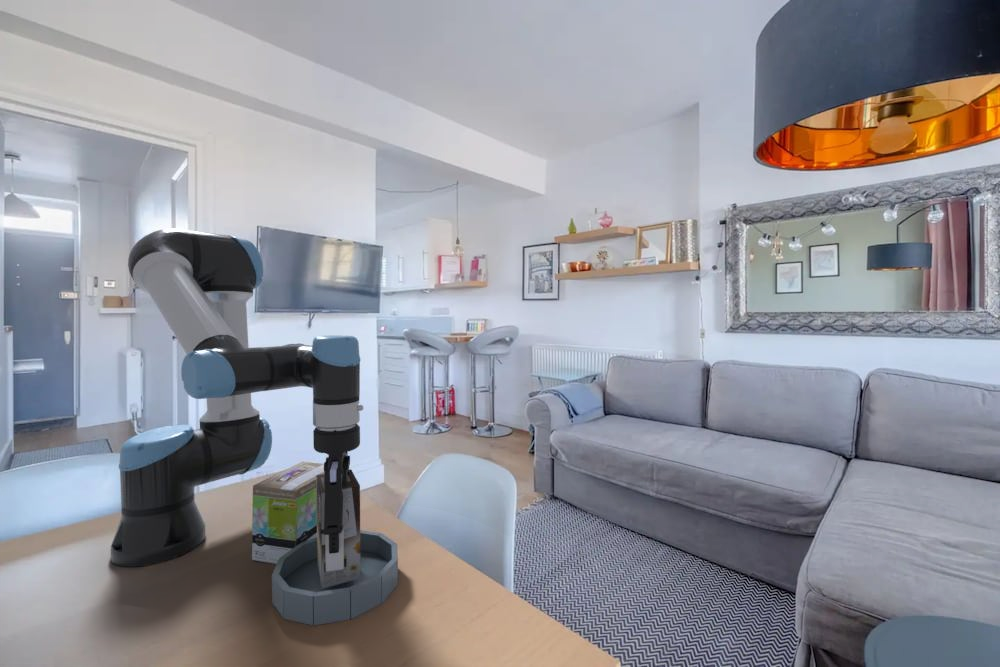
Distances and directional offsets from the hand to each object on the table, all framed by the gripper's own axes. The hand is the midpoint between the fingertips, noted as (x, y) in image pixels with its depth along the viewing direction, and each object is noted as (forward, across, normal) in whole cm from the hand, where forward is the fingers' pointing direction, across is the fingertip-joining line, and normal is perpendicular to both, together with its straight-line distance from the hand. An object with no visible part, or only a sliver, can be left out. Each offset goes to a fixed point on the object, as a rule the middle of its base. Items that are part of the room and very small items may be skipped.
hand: (338, 552), depth 77 cm
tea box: (+6, +16, +9) cm, 19 cm away
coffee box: (+3, 0, 0) cm, 3 cm away
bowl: (+6, 0, 0) cm, 6 cm away
